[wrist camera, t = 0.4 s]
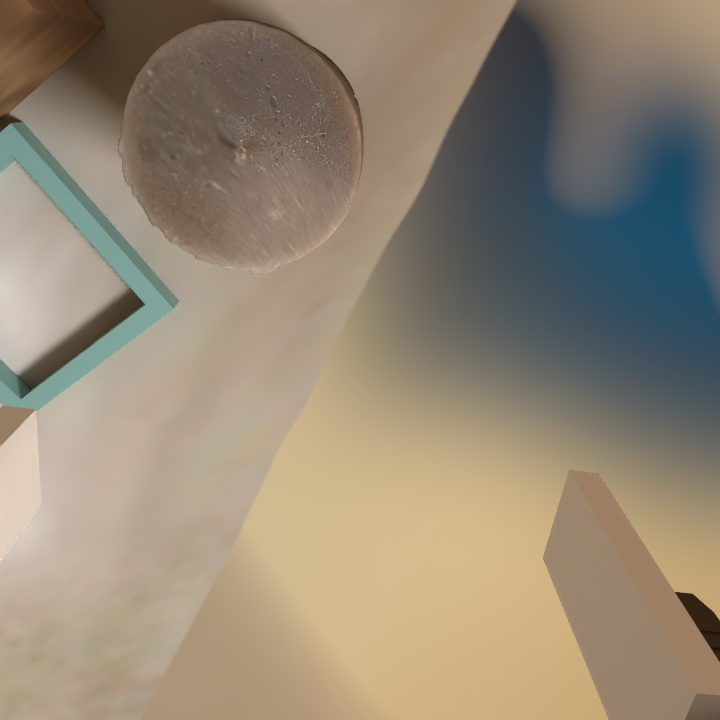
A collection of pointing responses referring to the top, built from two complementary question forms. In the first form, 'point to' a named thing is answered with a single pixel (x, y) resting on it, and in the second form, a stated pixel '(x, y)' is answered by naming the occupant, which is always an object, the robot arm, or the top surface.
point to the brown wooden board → (39, 42)
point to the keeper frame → (107, 242)
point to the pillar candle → (242, 144)
